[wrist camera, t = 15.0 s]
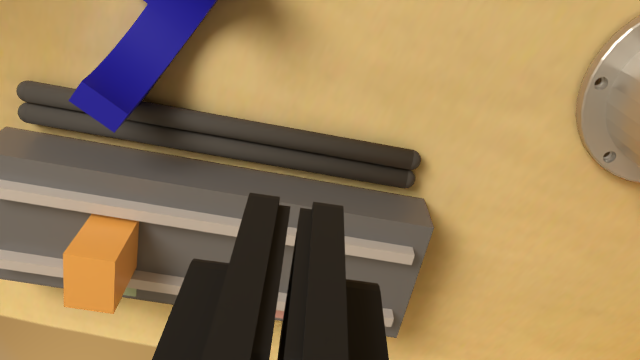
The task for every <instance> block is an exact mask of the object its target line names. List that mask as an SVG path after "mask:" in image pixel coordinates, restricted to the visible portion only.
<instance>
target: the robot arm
mask: <svg viewBox="0 0 640 360" xmlns="http://www.w3.org/2000/svg"><path fill="white" fill-rule="evenodd" d="M597 79H598V81H597V82H596V83H595V81H596V80H597ZM576 120H577V127H578V132H579V135H580V138H581V140H582V143H583V145H584V147H585V148H586V149H587V151H588V152H589V154H590V155H591V157H592V158H593V159H594V160H595V161H596V162H597V163H598V164H600V165H601V166H602V167H603V168H605V169H606V170H607V171H609V172H610V173H612V174H613V175H615V176H618V177H620V178H623V179H625V180H628V181H633V182H638V183H640V16H638V17H636V18H634V19H633V20H631V21H630V22H629V23H628V24H626V25H625V26H624V27H623V28H621V29H620V30H619V31H617V32H616V33H615V34H614V35H613V36H612V37H611V38H610V40H609V41H608V42H607V43H606V44H605V45H604V46H603V47H602V48H601V49H600V51H599V52H598V54H597V55H596V57H595V58H594V60H593V61H592V62H591V64H590V66H589V68H588V70H587V72H586V74H585V76H584V78H583V80H582V83H581V87H580V90H579V94H578V98H577V108H576ZM279 201H280V197H278V196H271V195H264V194H257V193H249V196H248V200H247V203H246V206H245V210H244V213H243V217H242V220H241V224H240V227H239V231H238V234H237V238H236V241H235V245H234V248H233V252H232V255H231V259H230V262H229V263H224V262H217V261H209V260H202V259H195V258H194V259H193V260H192V261H191V263H190V265H189V268H188V270H187V273H186V275H185V278H184V280H183V283H182V285H181V288H180V290H179V293H178V295H177V298H176V300H175V303H174V305H173V308H172V311H171V313H170V316H169V318H168V321H167V323H166V326H165V328H164V331H163V333H162V336H161V338H160V341H159V343H158V346H157V348H156V351H155V354H154V356H153V359H152V360H269V357H270V350H271V343H272V336H273V328H274V321H275V314H276V307H277V300H278V293H279V286H280V279H281V272H282V264H283V257H284V250H285V243H286V236H287V229H288V222H289V215H290V207H291V206H285V205H279ZM278 360H389V358H388V349H387V341H386V333H385V324H384V316H383V308H382V299H381V291H380V286H379V285H378V283H371V282H364V281H357V280H349V279H346V266H345V236H344V208H343V206H341V205H334V204H327V203H320V202H313V204H312V209H306V208H300V212H299V219H298V225H297V232H296V238H295V245H294V251H293V258H292V264H291V270H290V277H289V283H288V290H287V296H286V303H285V309H284V316H283V322H282V329H281V336H280V344H279V352H278Z"/></svg>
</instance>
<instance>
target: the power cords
mask: <svg viewBox="0 0 640 360" xmlns="http://www.w3.org/2000/svg"><path fill="white" fill-rule="evenodd" d="M75 90H76V89H72V88H67V87H61V86H55V85H50V84H44V83H39V82H33V81H23V82H21V83H20V84H19V85H18V87H17V95H18V97H19V98H20V99H21V100H23V101H25V102H26V103H23V104H22V105H21V106H20V107H19V109H18V115H19V117H20V119H21V120H22V121H24V122H26V123H31V124H37V125H43V126H48V127H54V128H60V129H66V130H71V131H77V132H83V133H89V134H94V135H100V136H106V137H112V138H117V139H123V140H129V141H135V142H140V143H146V144H152V145H158V146H163V147H169V148H175V149H181V150H186V151H192V152H198V153H204V154H209V155H215V156H221V157H227V158H232V159H238V160H244V161H250V162H256V163H261V164H267V165H273V166H279V167H284V168H290V169H296V170H302V171H307V172H313V173H319V174H325V175H330V176H336V177H342V178H348V179H353V180H359V181H365V182H371V183H376V184H382V185H388V186H394V187H399V188H409V187H411V186H412V185H413V184H414V182H415V175H414V173H413V172H412V171H411V170H413V169H416V168H417V167H418V166H419V165H420V162H421V157H420V155H419V153H418V152H416V151H414V150H410V149H404V148H399V147H393V146H388V145H382V144H377V143H371V142H366V141H360V140H355V139H349V138H343V137H338V136H332V135H327V134H321V133H316V132H310V131H305V130H299V129H294V128H288V127H283V126H277V125H271V124H266V123H260V122H255V121H249V120H244V119H238V118H233V117H227V116H222V115H216V114H211V113H205V112H199V111H194V110H188V109H183V108H177V107H172V106H166V105H161V104H155V103H150V102H144V101H141V102H140V104H139V105H138V106H137V107H136V108H135V110H134V111H133V112H132V113H131V114H130V115H129V117H128V118H127V119H126V120H125V121H124V122H123V123H122V125H121V126H120V127H119V128H118V129H117V130H116V131H115V133H114V132H113V131H111V130H110V129H108V128H107V127H105V126H104V125H103V124H101V123H100V122H98V121H97V120H95V119H94V118H92V117H91V116H90V115H88V114H87V113H85V112H84V111H82V110H81V109H80V108H78V107H77V106H75V105H74V104H72V103H71V102H70V101H69V99H70V98H71V96H72V95H73V93H74V92H75Z"/></svg>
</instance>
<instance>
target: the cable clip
mask: <svg viewBox="0 0 640 360" xmlns="http://www.w3.org/2000/svg"><path fill="white" fill-rule="evenodd" d="M144 1H145V2H146V3H147V4H148V5H147V6H146V8H145V9H144V11H143V12H142V13H141V15H140V16H139V17H138V19H137V20H136V21H135V23H134V24H133V25H132V27H131V28H130V29H129V31H128V32H127V33H126V34H125V36H124V37H123V38H122V39H121V41H120V42H119V43H118V44H117V45H116V47H115V48H114V49H113V50H112V51H111V52H110V54H109V55H108V56H107V57H106V58H105V59H104V60H103V61H102V62H101V63H100V65H99V66H98V67H97V68H96V69H95V70H94V71H93V72H92V73H91V74H90V75H88V76H87V77H86V78H85V79H84V80H83V81H82V82H81V83H80V85H79V86H78V87H77V89H76V90H75V92H74V93H73V95H72V96H71V98H70V99H69V101H70V102H71V103H72V104H74V105H75V106H77V107H78V108H80V109H81V110H82V111H84V112H85V113H87V114H88V115H90V116H91V117H92V118H94V119H95V120H97V121H98V122H100V123H101V124H103V125H104V126H105V127H107V128H108V129H110V130H111V131H113V132H114V133H115V131H116V130H117V129H118V128H119V127H120V126H121V125H122V123H123V122H124V121H125V120H126V119H127V118H128V117H129V115H130V114H131V113H132V112H133V111H134V110H135V108H136V107H137V106H138V105H139V104H140V102H141V101H142V100H143V99H144V98H145V96H146V95H147V94H148V92H149V91H150V90H151V88H152V87H153V86H154V84H155V83H156V82H157V80H158V79H159V78H160V76H161V75H162V74H163V72H164V71H165V70H166V68H167V67H168V66H169V64H170V63H171V62H172V60H173V59H174V58H175V56H176V55H177V54H178V52H179V51H180V50H181V48H182V47H183V46H184V44H185V43H186V42H187V40H188V39H189V38H190V36H191V35H192V34H193V32H194V31H195V30H196V28H197V27H198V26H199V24H200V23H201V22H202V20H203V19H204V18H205V16H206V15H207V14H208V12H209V11H210V10H211V8H212V7H213V6H214V4H215V3H216V2H217V0H144Z"/></svg>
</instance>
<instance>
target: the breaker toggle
mask: <svg viewBox="0 0 640 360" xmlns="http://www.w3.org/2000/svg"><path fill="white" fill-rule="evenodd" d="M138 233H139V221H135V220H129V219H122V218H116V217H110V216H104V215H98V214H91V215H90V217H89V218H88V220H87V221H86V222H85V224H84V225H83V227H82V228H81V229H80V231H79V232H78V233H77V235H76V236H75V238H74V239H73V240H72V242H71V243H70V245H69V246H68V247H67V249H66V250H65V252H64V253H63V282H64V307H70V308H77V309H84V310H91V311H97V312H104V313H111V314H114V312H115V310H116V308H117V306H118V304H119V302H120V300H121V298H122V296H123V294H124V292H125V289H126V287H127V285H128V283H129V281H130V279H131V277H132V275H133V273H134V271H135V269H136V267H137V252H138Z"/></svg>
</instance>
